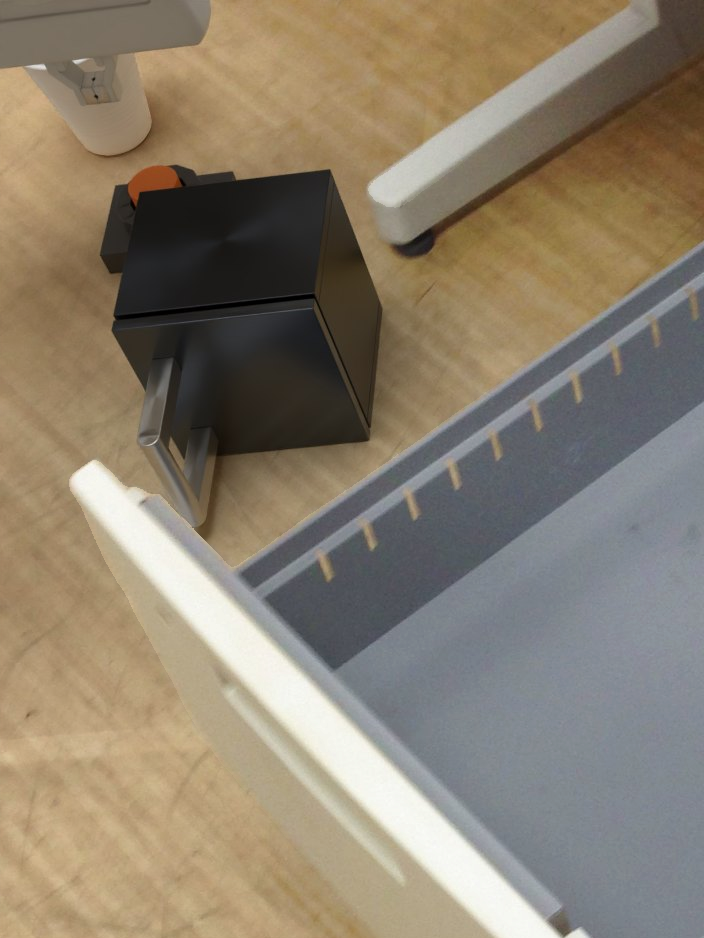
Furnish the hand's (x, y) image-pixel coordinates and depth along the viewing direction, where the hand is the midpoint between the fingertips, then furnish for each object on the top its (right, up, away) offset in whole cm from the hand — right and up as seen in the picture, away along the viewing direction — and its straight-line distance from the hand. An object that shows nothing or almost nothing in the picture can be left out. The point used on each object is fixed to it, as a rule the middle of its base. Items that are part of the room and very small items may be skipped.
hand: (102, 98), depth 133 cm
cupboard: (+13, -20, +2) cm, 24 cm away
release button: (+2, -5, +10) cm, 11 cm away
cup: (-5, +3, +21) cm, 21 cm away
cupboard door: (+13, -29, -4) cm, 32 cm away
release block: (+2, -7, +12) cm, 15 cm away
